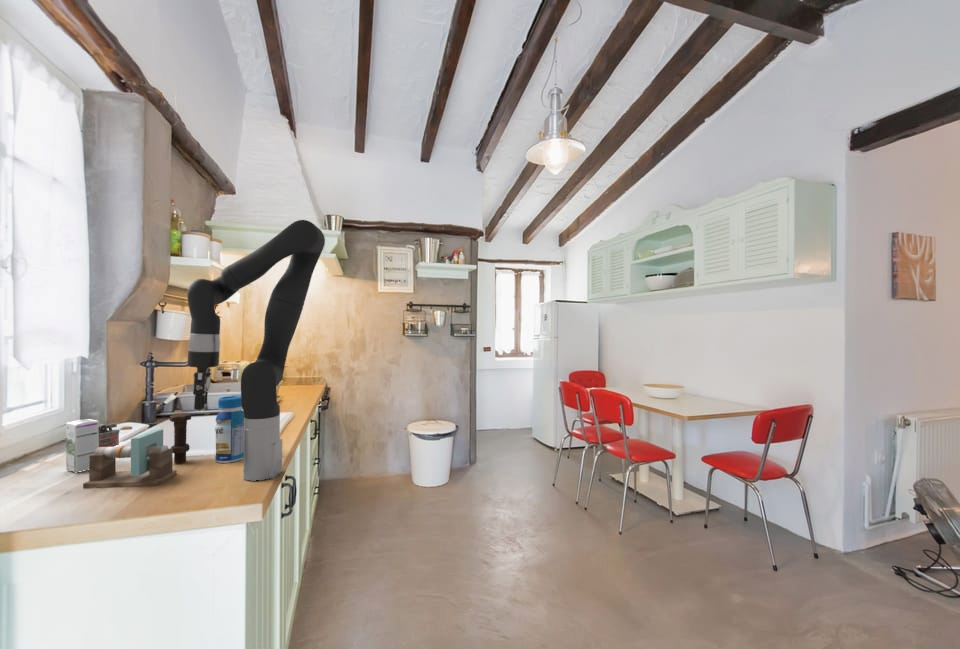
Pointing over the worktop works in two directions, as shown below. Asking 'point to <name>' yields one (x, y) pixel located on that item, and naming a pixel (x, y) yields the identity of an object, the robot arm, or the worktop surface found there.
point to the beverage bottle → (229, 430)
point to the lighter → (108, 435)
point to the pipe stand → (106, 475)
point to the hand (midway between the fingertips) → (200, 406)
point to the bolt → (180, 437)
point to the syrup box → (81, 443)
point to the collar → (143, 450)
